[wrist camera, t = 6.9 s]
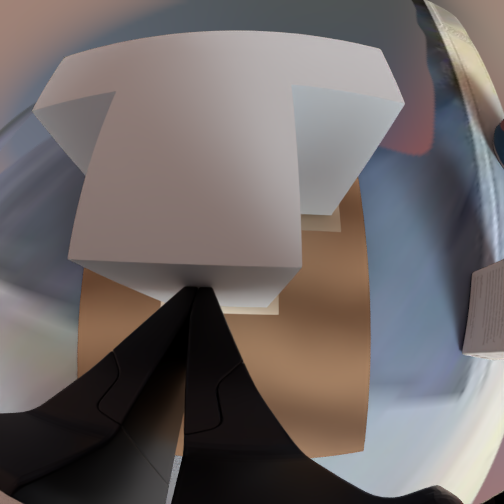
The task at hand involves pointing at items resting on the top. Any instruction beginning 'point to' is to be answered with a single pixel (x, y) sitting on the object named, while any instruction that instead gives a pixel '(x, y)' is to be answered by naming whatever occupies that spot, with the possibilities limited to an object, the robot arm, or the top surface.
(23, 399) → the top surface
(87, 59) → the white block
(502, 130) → the soda can
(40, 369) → the top surface
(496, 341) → the skincare box
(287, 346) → the brown board
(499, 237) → the top surface
